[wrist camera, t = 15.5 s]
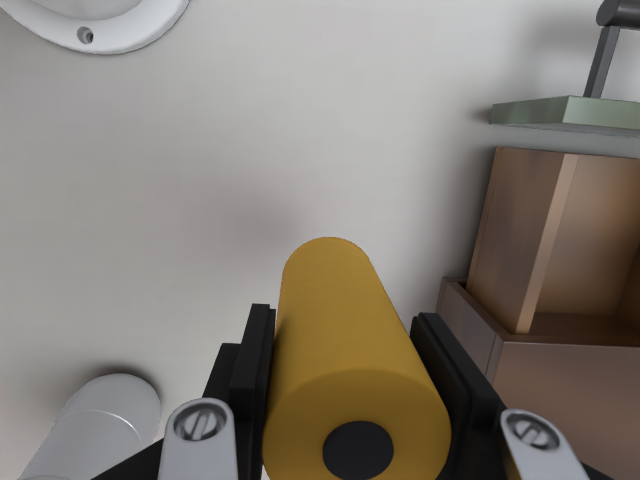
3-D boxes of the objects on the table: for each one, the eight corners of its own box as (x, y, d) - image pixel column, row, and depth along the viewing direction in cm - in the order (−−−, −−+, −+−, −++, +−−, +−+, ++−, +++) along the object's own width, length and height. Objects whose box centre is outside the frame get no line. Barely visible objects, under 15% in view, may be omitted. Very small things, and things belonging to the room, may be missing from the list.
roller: (284, 233, 16) (263, 366, 7) (379, 239, 17) (474, 375, 8) (279, 319, 18) (256, 525, 9) (367, 323, 18) (437, 526, 9)
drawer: (512, 8, 21) (606, -44, 15) (720, 32, 22) (894, -6, 16) (449, 310, 27) (496, 367, 21) (616, 318, 28) (711, 376, 22)
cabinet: (442, 276, 27) (503, 341, 19) (623, 287, 28) (755, 353, 20) (409, 440, 32) (447, 549, 24) (566, 443, 33) (655, 549, 25)
